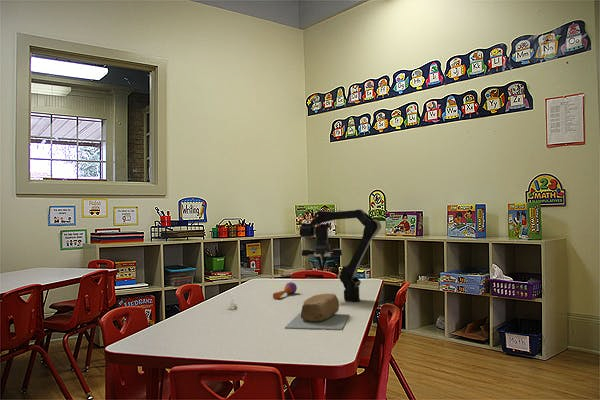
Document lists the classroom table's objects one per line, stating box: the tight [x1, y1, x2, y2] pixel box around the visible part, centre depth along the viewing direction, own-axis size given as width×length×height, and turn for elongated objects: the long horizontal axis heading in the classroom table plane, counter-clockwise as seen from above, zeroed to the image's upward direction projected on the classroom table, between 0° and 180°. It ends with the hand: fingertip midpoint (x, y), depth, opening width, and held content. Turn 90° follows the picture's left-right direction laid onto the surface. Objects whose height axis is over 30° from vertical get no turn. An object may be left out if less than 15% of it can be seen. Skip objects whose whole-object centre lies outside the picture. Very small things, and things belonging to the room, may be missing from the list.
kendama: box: [272, 281, 298, 300], centre depth 241 cm, size 6×6×20 cm
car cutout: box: [226, 298, 238, 310], centre depth 207 cm, size 15×7×4 cm, turn 170°
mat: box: [284, 312, 350, 331], centre depth 181 cm, size 20×24×1 cm
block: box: [300, 293, 340, 322], centre depth 187 cm, size 11×8×20 cm
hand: (322, 270), depth 230 cm, fingers closed
